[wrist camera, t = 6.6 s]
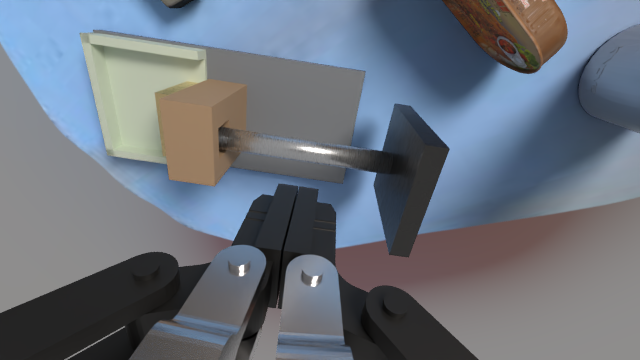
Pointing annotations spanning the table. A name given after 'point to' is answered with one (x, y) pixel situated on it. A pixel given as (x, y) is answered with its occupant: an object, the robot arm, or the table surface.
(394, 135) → the shaft
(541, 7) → the tin
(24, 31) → the table surface
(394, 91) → the table surface
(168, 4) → the infrared thermometer
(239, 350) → the robot arm
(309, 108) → the shaft rig
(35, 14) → the table surface
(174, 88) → the spacer
